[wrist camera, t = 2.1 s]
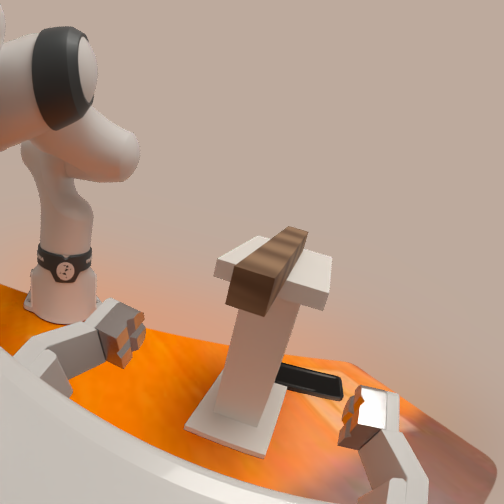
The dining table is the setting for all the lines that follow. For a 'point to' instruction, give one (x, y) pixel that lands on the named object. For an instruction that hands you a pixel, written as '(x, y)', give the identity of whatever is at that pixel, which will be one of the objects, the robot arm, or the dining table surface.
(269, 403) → the pedestal
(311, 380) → the phone
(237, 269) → the walnut bar
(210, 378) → the dining table surface
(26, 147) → the robot arm
